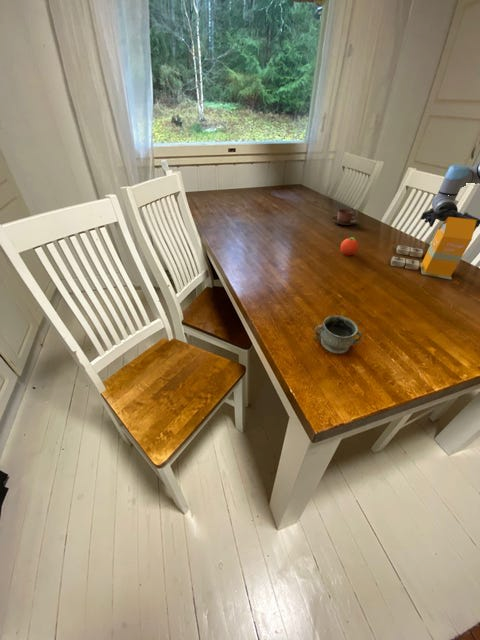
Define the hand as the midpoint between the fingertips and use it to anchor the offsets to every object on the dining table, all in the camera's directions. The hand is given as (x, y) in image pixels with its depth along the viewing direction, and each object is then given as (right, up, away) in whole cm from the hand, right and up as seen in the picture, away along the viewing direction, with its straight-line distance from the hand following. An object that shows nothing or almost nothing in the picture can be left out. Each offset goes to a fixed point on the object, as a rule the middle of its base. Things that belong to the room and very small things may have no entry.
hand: (453, 226), depth 103 cm
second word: (-10, -15, +4) cm, 19 cm away
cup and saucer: (-26, +16, +43) cm, 52 cm away
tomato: (-35, -8, +13) cm, 38 cm away
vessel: (-55, -42, -30) cm, 76 cm away
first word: (-8, -7, +14) cm, 18 cm away
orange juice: (-5, -17, +2) cm, 18 cm away
